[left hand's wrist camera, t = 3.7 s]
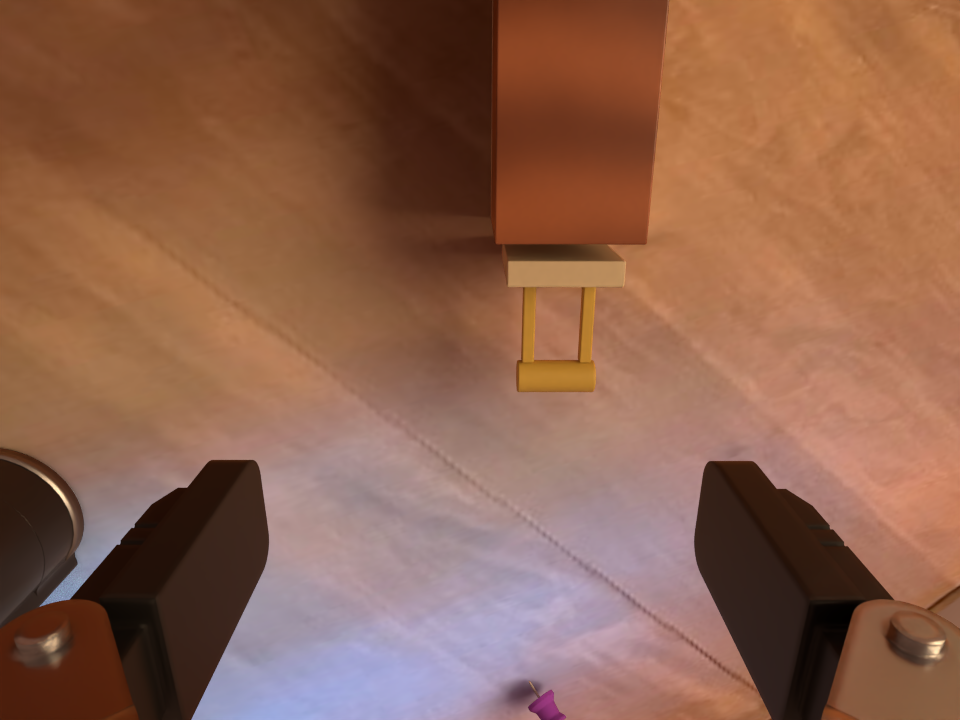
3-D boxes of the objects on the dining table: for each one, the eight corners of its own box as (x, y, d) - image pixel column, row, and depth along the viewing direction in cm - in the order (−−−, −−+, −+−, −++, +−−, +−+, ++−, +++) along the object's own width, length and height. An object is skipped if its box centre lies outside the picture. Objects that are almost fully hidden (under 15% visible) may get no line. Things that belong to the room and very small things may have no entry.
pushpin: (538, 672, 46) (542, 707, 43) (568, 692, 47) (573, 728, 44) (519, 688, 47) (521, 724, 44) (548, 708, 47) (553, 745, 45)
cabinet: (608, 217, 35) (647, 244, 27) (490, 217, 35) (494, 245, 27) (638, -212, 28) (702, -344, 20) (494, -213, 28) (500, -346, 20)
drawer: (591, 361, 37) (614, 408, 31) (500, 361, 37) (504, 408, 31) (624, -133, 29) (665, -204, 22) (507, -133, 29) (515, -205, 22)
